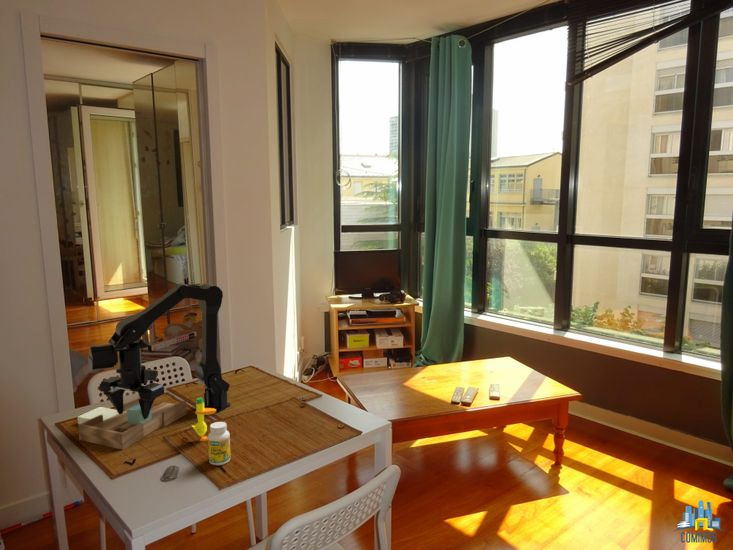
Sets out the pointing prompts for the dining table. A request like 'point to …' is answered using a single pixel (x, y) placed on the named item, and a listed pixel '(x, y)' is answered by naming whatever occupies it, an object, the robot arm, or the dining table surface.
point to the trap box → (128, 425)
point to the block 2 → (170, 473)
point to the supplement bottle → (219, 444)
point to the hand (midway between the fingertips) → (133, 416)
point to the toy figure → (202, 418)
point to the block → (136, 415)
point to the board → (97, 414)
